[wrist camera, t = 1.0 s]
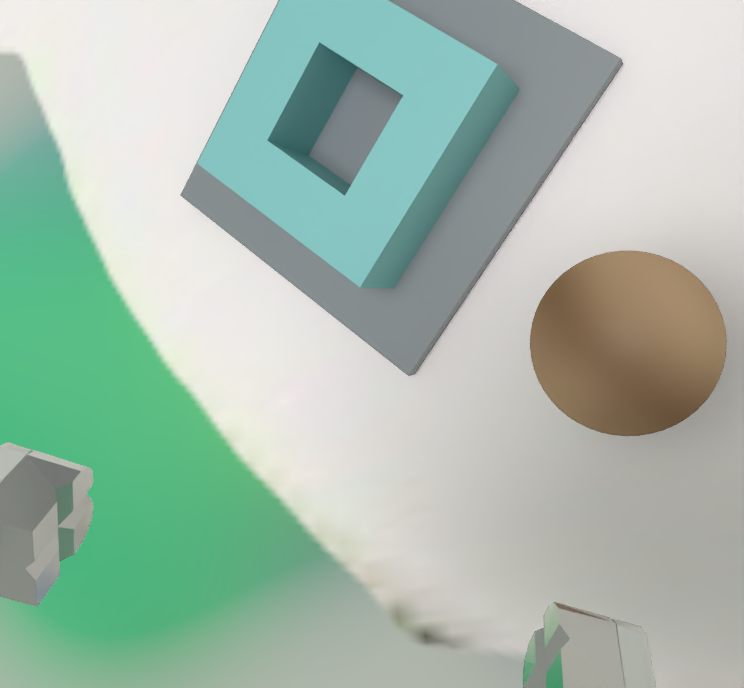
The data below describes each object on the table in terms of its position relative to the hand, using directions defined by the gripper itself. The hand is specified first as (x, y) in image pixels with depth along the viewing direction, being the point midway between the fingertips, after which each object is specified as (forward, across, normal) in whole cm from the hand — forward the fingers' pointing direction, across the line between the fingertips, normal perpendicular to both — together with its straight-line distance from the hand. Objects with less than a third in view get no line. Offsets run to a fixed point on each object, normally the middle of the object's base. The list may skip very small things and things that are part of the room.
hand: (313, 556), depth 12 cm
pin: (+29, -14, +7) cm, 33 cm away
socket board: (+38, +5, +4) cm, 38 cm away
